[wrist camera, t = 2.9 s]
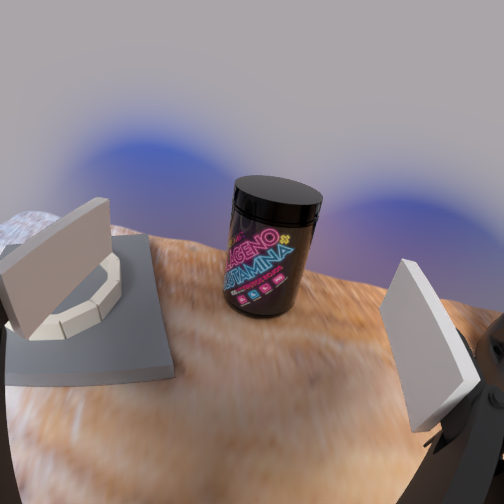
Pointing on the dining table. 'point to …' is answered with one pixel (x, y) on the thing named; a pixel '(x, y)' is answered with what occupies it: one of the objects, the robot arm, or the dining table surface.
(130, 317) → the ring board
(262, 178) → the supplement container
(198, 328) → the dining table surface
